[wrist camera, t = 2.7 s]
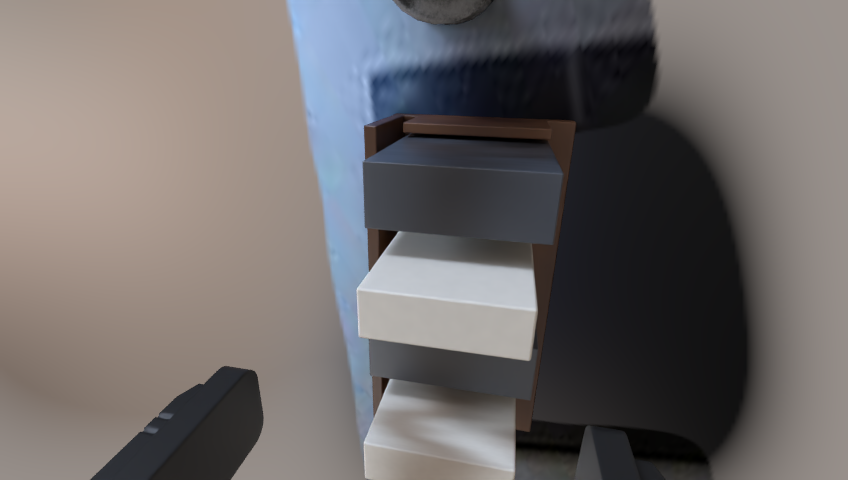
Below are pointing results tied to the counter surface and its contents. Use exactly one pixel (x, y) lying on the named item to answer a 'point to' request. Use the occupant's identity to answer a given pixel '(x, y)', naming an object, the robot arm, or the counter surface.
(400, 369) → the book rack
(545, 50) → the counter surface
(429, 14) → the stone chess piece
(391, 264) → the white book
